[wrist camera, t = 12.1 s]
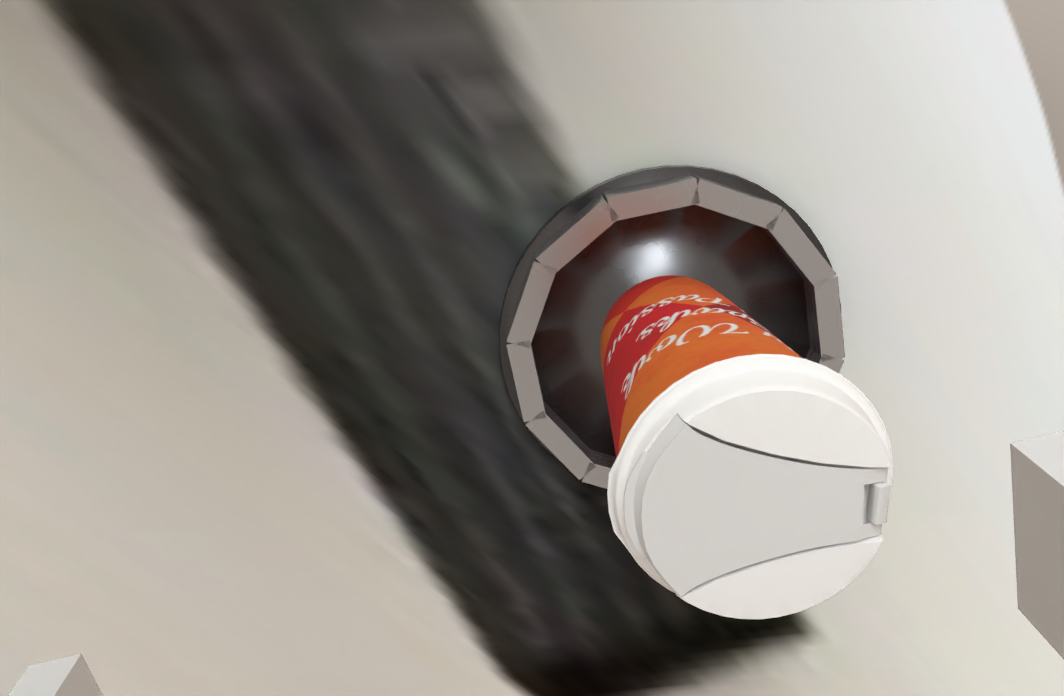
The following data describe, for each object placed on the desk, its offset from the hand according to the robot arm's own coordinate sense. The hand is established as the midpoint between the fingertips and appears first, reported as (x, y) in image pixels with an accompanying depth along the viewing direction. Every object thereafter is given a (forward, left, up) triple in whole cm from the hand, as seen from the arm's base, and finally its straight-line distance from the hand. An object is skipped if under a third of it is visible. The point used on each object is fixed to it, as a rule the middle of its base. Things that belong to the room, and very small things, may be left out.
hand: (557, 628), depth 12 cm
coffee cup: (+6, +6, -26) cm, 27 cm away
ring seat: (+6, +6, -27) cm, 28 cm away
